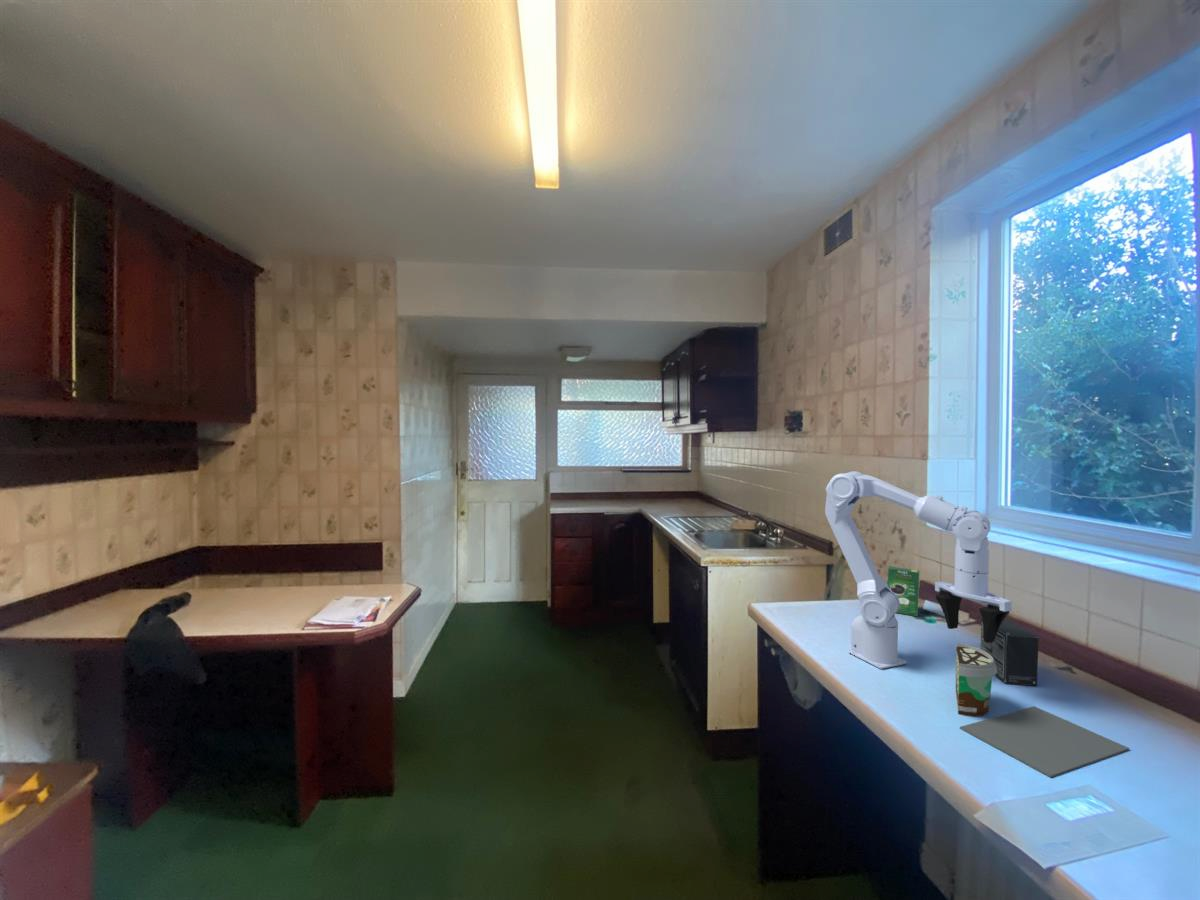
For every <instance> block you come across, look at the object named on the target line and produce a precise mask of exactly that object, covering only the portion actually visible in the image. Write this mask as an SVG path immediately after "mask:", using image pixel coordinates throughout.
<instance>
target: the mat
mask: <svg viewBox="0 0 1200 900" xmlns="http://www.w3.org/2000/svg"><path fill="white" fill-rule="evenodd" d="M959 729H960V730H962V731H963V732H965V733H967V734H969V735H971V736H973V737H975V738H976V739H978V740H980V741H981V742H983V743H986V744H988V745H989V746H991V747H993V748H995V749H997V750H998V751H1000V752H1002V753H1004V754H1006V755H1008V756H1009V757H1012V758H1014V759H1015V760H1017V761H1019V762H1020V763H1022V764H1024V765H1026V766H1028V767H1029V768H1031V769H1034V770H1036V771H1037V772H1039V773H1041V774H1043V775H1045V776H1046V777H1048V778H1050V779H1051V778H1053V777H1056V776H1059V775H1063V774H1066V773H1067V772H1068V773H1069V772H1071V771H1073V770H1077V769H1079V768H1082V767H1086V766H1087V765H1090V764H1093V763H1096V762H1099V761H1102V760H1105V759H1108V758H1110V757H1112V756H1113V757H1114V756H1115V755H1118V754H1121V753H1124V752H1127V751H1130V747H1128V746H1127V745H1123V744H1122V743H1118V742H1116V741H1114V740H1111V739H1110V738H1107V737H1105V736H1103V735H1100V734H1098V733H1097V732H1094V731H1091V730H1089V729H1087V728H1085V727H1082V726H1080V725H1079V724H1075V723H1073V722H1071V721H1069V720H1066V719H1065V718H1063V717H1060V716H1058V715H1056V714H1053V713H1052V712H1048V711H1046V710H1043V709H1041V708H1039V707H1037V706H1035V705H1034V706H1030V707H1027V708H1023V709H1019V710H1016V711H1012V712H1009V713H1004V714H1001V715H997V716H993V717H991V718H990V717H989V718H987V719H983V720H980V721H976V722H972V723H969V724H965V725H962V726H959Z"/></svg>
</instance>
